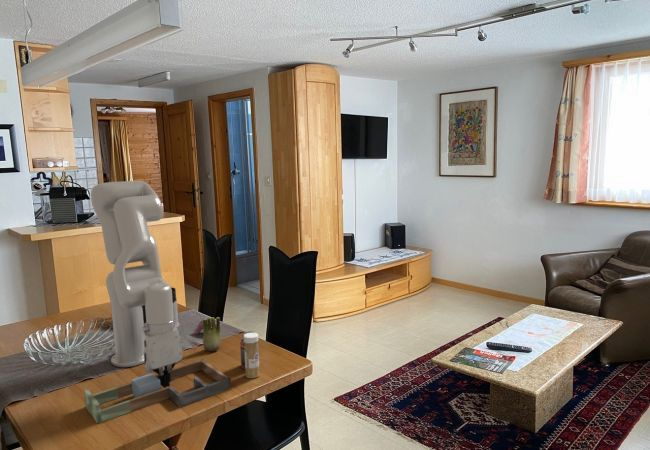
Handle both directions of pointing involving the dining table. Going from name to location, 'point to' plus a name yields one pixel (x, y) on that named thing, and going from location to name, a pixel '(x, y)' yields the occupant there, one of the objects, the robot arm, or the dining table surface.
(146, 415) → the dining table surface
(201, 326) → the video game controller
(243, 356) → the supplement bottle
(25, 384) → the dining table surface
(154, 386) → the block
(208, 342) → the fennel bulb
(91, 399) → the box
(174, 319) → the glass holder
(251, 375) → the sprinkles bottle
